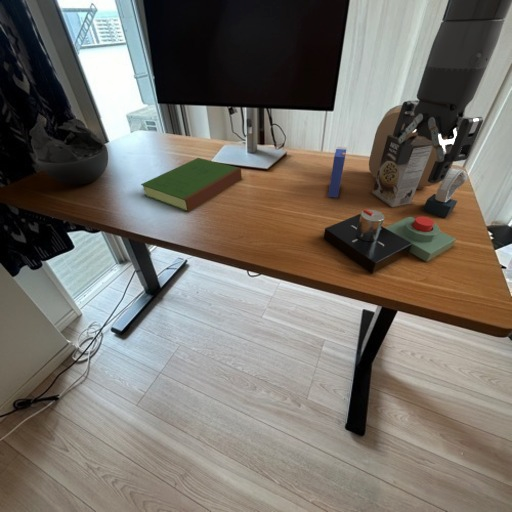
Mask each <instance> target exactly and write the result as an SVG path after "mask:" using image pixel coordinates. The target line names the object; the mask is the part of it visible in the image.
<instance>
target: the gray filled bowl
mask: <svg viewBox="0 0 512 512" xmlns="http://www.w3.org/2000/svg"><path fill="white" fill-rule="evenodd" d="M57 129H59V130H62V131H66V132H68V133H69V132H70V133H69V134H68V135H67V136H66V137H65V139H64V141H63V140H59V139H57V138H54V137H52V136H49V134H48V133H47V132H46V130H45V122H44V121H43V120H38V121H37V122H36V123H35V124H34V126H33V128H31V129H30V130H29V134H28V136H31V139H30V144H31V147H32V151H33V152H34V155H35V162H36V164H37V165H38V166H39V168H40V169H41V170H42V171H43V172H44V173H45V174H47V175H48V176H49V177H50V178H53V179H54V180H56V181H59V182H61V183H64V184H68V185H74V186H76V185H77V186H81V185H87V184H91V183H93V182H95V181H97V180H98V179H99V178H100V177H102V175H104V173H105V172H106V169H107V167H108V163H109V152H108V151H109V150H108V147H107V145H106V144H105V143H104V142H103V141H102V139H101V138H98V136H97V135H96V134H95V133H94V132H93V131H92V130H91V129H90V128H88V127H86V124H85V123H84V122H83V120H80V119H78V118H73V119H69V120H67V122H65V121H64V122H63V123H62V125H60V126H58V127H57Z"/></svg>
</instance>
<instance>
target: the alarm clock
mask: <svg viewBox="0 0 512 512" xmlns="http://www.w3.org/2000/svg"><path fill="white" fill-rule="evenodd" d="M402 105H403V104H400V105H396V106H394V107H392V108H390V109H388V110H387V112H385V114H384V116H383V117H382V119H381V121H380V122H379V124H378V125H377V127H376V128H377V129H376V131H375V133H374V137H373V143H372V147H371V151H370V155H369V158H368V169H369V173H370V174H371V175H372V177H374V179H376V177H377V173H378V170H379V166H380V162H381V159H382V155H383V151H384V147H385V144H386V140H387V136H388V135H391V134H393V132H394V129H395V126H396V123H397V120H398V117H399V114H400V111H401V108H402ZM414 120H415V117H414ZM414 120H413V121H414ZM404 125H405V124H403V126H402V129H401V130H403V128H404ZM457 128H458V127H457ZM457 128H456V129H457ZM418 137H420V136H418ZM420 138H423V139H425V140H428V139H426V138H425V137H420ZM443 140H447V136H446V137H445V138H443ZM428 141H430V140H428ZM430 142H432V141H430ZM445 150H446V147H445ZM446 153H447V150H446ZM435 161H437V153H436V149H435V148H434V147H433V148H432V150H431V153H430V156H429V158H428V161H427V163H426V166H425V168H424V171H423V173H422V176H421V178H420V181H419V183H418V186H417V188H416V190H422V189H423V187H431V186H434V185H435V186H436V185H437V184H439V183H440V182H438V183H433V184H431V183H430V182H428V178H429V176H430V173H431V171H432V168H433V166H434V163H435ZM453 164H454V162H452V163H451V165H450V167H449V169H450V168H452V167H453Z"/></svg>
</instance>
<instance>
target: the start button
mask: <svg viewBox="0 0 512 512" xmlns="http://www.w3.org/2000/svg"><path fill="white" fill-rule="evenodd" d="M434 223H435V221H434V220H433V219H432V218H430V217H427V216H417V217H415V221H414V223H413V228H414V229H416V230H418V231H422V232H430V231H431V229H432V227H433V225H434Z"/></svg>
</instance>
